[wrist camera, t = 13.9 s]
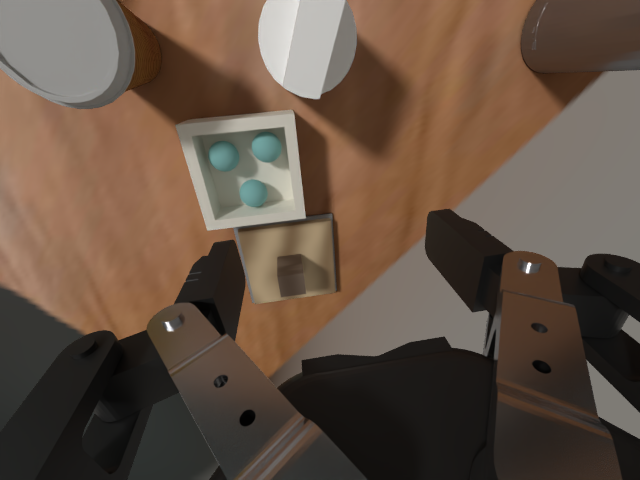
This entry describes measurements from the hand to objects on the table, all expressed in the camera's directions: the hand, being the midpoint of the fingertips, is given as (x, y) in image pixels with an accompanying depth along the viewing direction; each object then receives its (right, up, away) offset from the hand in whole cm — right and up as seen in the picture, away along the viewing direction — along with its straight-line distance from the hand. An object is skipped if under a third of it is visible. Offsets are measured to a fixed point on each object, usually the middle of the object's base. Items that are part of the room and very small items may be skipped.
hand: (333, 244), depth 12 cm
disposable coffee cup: (-20, +20, +17) cm, 33 cm away
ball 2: (-7, +11, +21) cm, 25 cm away
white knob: (-2, +21, +19) cm, 29 cm away
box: (-9, +10, +24) cm, 28 cm away
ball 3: (-9, +6, +23) cm, 26 cm away
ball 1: (-12, +10, +21) cm, 26 cm away
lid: (-5, -3, +32) cm, 32 cm away
